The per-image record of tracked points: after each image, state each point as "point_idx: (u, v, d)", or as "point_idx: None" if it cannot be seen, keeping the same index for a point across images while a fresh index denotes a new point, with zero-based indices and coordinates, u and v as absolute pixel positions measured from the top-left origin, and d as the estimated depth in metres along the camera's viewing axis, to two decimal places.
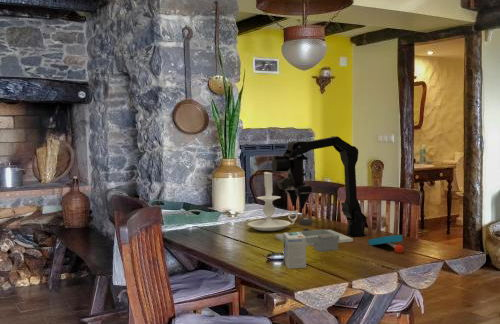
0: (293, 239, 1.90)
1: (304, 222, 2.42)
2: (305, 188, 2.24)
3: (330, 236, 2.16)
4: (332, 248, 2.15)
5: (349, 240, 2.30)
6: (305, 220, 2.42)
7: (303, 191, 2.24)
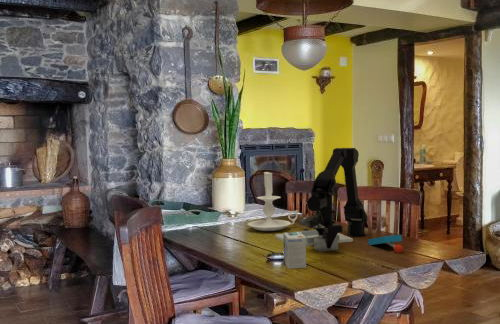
0: (293, 239, 1.90)
1: (304, 222, 2.42)
2: (336, 228, 2.08)
3: None
4: (332, 248, 2.15)
5: (349, 240, 2.30)
6: None
7: (334, 231, 2.08)
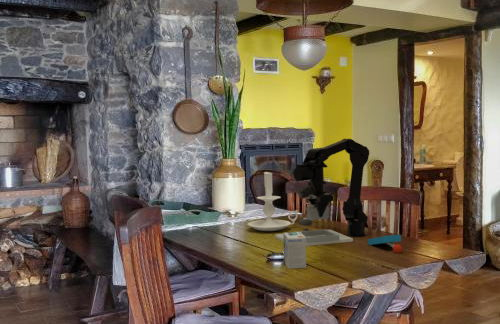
0: (293, 239, 1.90)
1: (304, 222, 2.42)
2: (327, 197, 2.21)
3: None
4: (324, 216, 2.28)
5: (349, 240, 2.30)
6: (305, 220, 2.42)
7: (325, 200, 2.21)
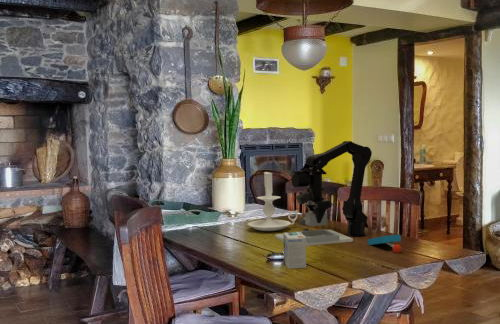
0: (293, 239, 1.90)
1: (304, 222, 2.42)
2: (325, 203, 2.24)
3: None
4: (322, 222, 2.31)
5: (349, 240, 2.30)
6: None
7: (323, 206, 2.23)
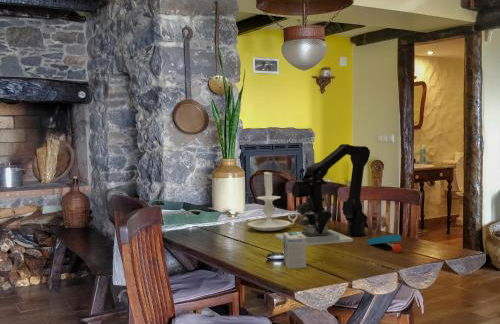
0: (293, 239, 1.90)
1: (304, 222, 2.42)
2: (325, 214, 2.24)
3: None
4: None
5: (349, 240, 2.30)
6: (305, 220, 2.42)
7: (323, 217, 2.24)
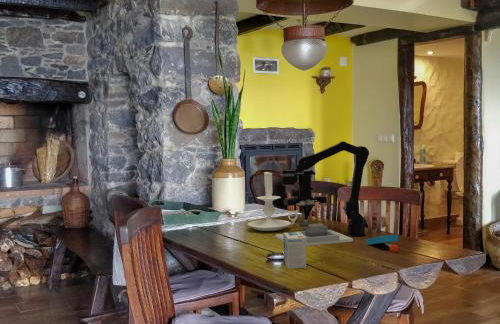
0: (293, 239, 1.90)
1: (304, 224, 2.42)
2: (285, 201, 2.41)
3: (320, 225, 2.32)
4: None
5: (349, 240, 2.30)
6: (305, 222, 2.42)
7: (284, 203, 2.42)
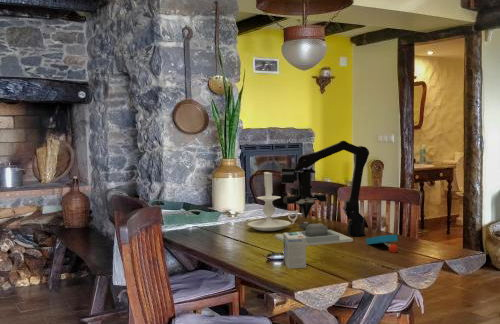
0: (293, 239, 1.90)
1: (304, 226, 2.42)
2: (285, 199, 2.41)
3: (320, 225, 2.32)
4: None
5: (349, 240, 2.30)
6: (305, 224, 2.42)
7: (284, 201, 2.42)
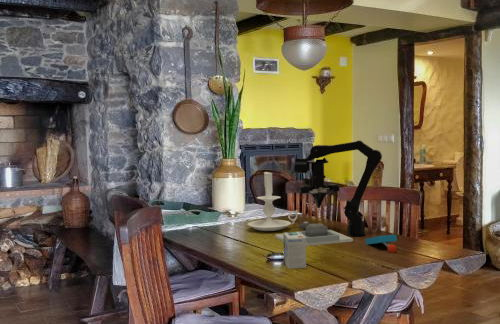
0: (293, 239, 1.90)
1: (304, 226, 2.42)
2: (298, 188, 2.44)
3: (320, 225, 2.32)
4: None
5: (349, 240, 2.30)
6: (305, 224, 2.42)
7: (298, 191, 2.45)
